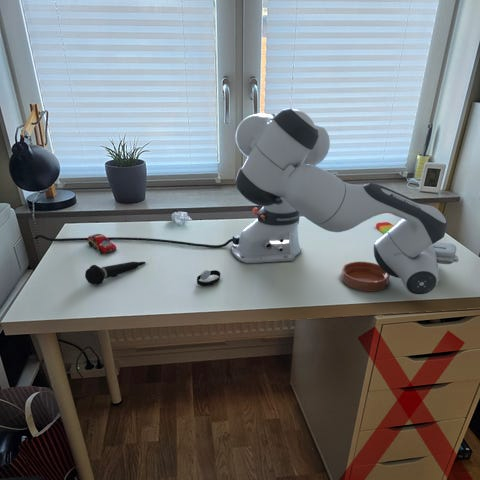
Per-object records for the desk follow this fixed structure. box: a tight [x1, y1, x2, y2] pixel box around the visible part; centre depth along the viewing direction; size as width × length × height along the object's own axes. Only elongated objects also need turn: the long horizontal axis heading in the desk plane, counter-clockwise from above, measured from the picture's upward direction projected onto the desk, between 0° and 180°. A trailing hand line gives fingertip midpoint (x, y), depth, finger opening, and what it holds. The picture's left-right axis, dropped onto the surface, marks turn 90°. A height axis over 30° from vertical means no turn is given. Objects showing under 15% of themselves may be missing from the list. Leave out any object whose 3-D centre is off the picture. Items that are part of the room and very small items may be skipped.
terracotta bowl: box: [340, 261, 391, 292], centre depth 127 cm, size 13×13×3 cm
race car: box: [87, 233, 117, 256], centre depth 145 cm, size 13×5×4 cm, turn 39°
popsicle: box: [375, 221, 395, 234], centre depth 158 cm, size 6×15×2 cm, turn 15°
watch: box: [196, 269, 221, 287], centre depth 126 cm, size 8×5×4 cm, turn 131°
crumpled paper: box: [170, 211, 193, 226], centre depth 166 cm, size 8×4×7 cm
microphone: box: [84, 261, 146, 286], centre depth 129 cm, size 6×6×20 cm
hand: (416, 239), depth 133 cm, fingers closed on strawberry, 5 cm apart
